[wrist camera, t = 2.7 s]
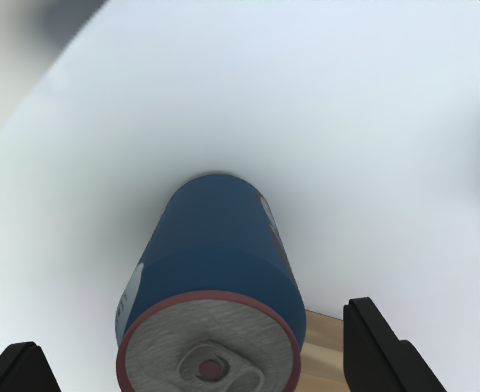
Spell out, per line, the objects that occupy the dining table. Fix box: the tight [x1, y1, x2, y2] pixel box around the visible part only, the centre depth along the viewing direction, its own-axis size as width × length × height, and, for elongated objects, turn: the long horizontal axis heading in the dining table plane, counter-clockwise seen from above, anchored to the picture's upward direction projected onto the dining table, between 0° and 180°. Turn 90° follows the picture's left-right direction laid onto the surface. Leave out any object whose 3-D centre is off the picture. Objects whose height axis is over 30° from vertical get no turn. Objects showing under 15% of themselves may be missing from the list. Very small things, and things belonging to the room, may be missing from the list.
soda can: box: [115, 175, 307, 392], centre depth 15 cm, size 7×7×12 cm
